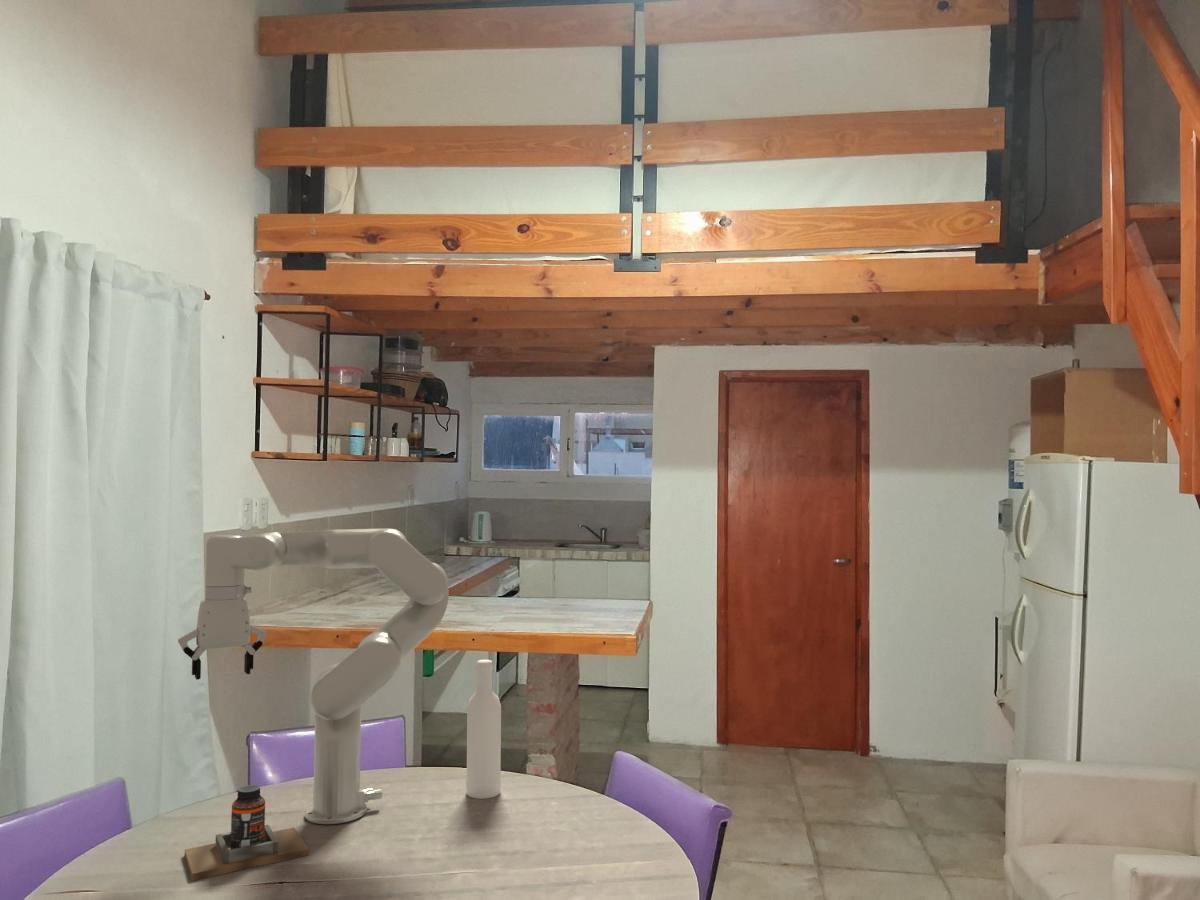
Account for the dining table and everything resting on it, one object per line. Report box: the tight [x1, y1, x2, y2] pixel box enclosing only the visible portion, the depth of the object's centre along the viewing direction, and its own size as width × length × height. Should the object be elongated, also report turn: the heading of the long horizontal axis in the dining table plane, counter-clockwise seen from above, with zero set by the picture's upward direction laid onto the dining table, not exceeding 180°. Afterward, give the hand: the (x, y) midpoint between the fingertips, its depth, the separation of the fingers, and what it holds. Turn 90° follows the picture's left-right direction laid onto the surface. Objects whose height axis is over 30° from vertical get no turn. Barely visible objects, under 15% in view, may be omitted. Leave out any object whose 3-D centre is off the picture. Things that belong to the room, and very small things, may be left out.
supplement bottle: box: [230, 784, 266, 849], centre depth 161 cm, size 6×6×11 cm
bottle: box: [465, 659, 502, 800], centre depth 195 cm, size 8×8×30 cm
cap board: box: [184, 824, 309, 881], centre depth 161 cm, size 20×12×3 cm, turn 122°
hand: (222, 675), depth 178 cm, fingers open, 9 cm apart
